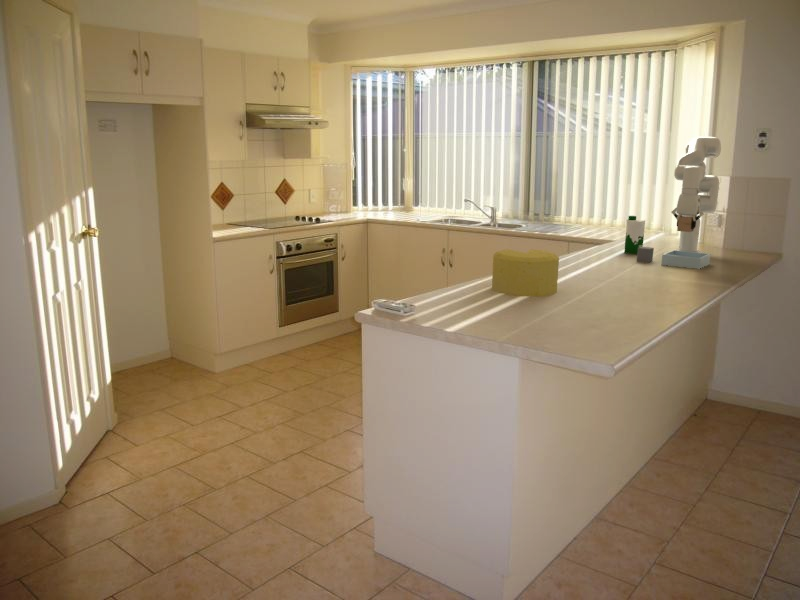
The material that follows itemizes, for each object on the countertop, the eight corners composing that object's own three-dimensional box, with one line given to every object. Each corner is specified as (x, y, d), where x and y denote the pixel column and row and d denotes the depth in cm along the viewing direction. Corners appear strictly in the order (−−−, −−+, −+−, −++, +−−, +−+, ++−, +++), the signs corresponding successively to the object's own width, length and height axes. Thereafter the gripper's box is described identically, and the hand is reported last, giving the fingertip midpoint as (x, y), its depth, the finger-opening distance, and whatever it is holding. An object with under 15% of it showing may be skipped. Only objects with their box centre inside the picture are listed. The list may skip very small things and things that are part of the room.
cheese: (512, 280, 297) (514, 246, 293) (568, 289, 281) (570, 253, 277) (479, 289, 277) (481, 253, 274) (537, 300, 261) (539, 261, 258)
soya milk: (627, 251, 382) (631, 215, 378) (644, 252, 377) (647, 216, 372) (622, 253, 375) (625, 216, 371) (638, 254, 370) (642, 217, 365)
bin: (672, 260, 354) (673, 250, 353) (709, 264, 343) (710, 254, 342) (661, 264, 340) (662, 254, 339) (699, 269, 329) (700, 258, 328)
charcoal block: (640, 260, 354) (641, 246, 352) (652, 261, 351) (653, 247, 349) (636, 261, 349) (637, 247, 348) (648, 262, 346) (649, 249, 344)
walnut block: (681, 229, 347) (682, 216, 346) (693, 231, 343) (695, 216, 342) (677, 230, 343) (678, 216, 341) (689, 232, 339) (691, 217, 337)
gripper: (710, 192, 336) (706, 229, 340) (674, 190, 347) (670, 226, 351) (705, 193, 330) (701, 230, 335) (669, 191, 341) (665, 227, 345)
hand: (685, 227), depth 343 cm, fingers closed on walnut block, 6 cm apart
